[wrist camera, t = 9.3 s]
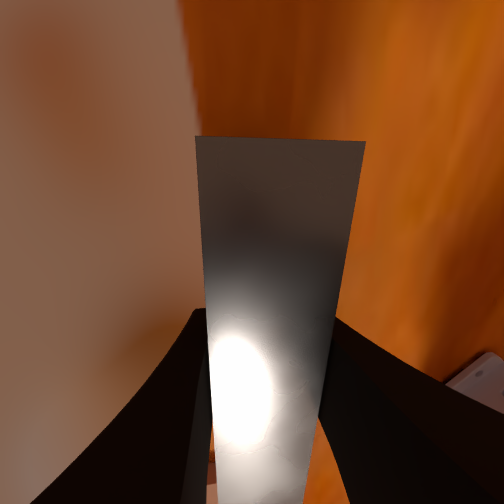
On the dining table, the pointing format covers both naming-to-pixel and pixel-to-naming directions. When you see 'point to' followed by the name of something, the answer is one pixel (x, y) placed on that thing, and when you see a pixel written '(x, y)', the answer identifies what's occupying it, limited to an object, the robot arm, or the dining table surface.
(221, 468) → the tall grey plank
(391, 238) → the dining table surface
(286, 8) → the dining table surface
